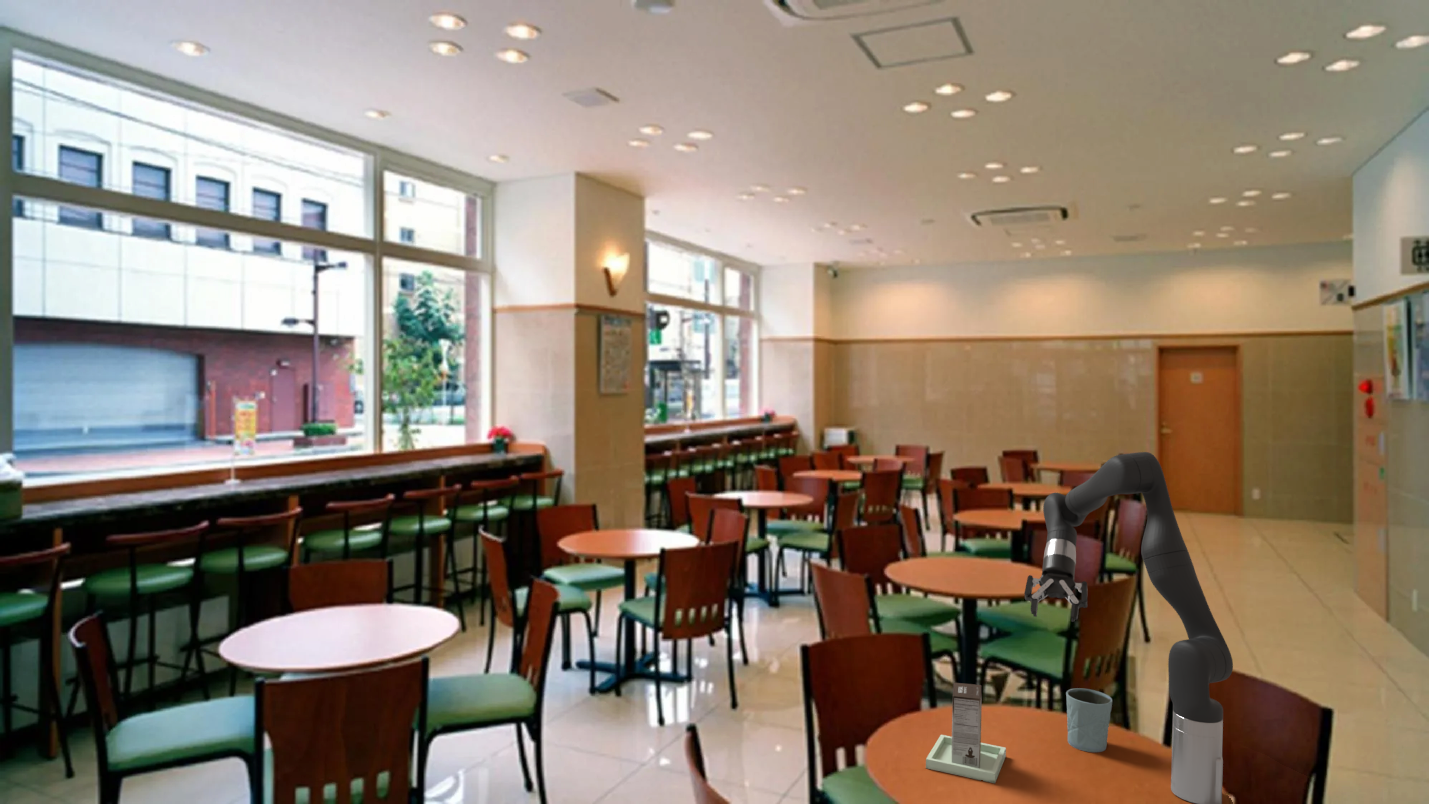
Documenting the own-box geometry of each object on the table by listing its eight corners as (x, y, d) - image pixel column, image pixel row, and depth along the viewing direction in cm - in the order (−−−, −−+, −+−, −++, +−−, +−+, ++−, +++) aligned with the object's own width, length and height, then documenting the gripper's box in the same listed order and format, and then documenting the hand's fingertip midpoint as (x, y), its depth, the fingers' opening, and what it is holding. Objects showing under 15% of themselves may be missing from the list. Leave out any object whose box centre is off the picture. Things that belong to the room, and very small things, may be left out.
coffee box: (951, 748, 199) (953, 681, 199) (980, 752, 197) (981, 684, 197) (951, 765, 190) (952, 695, 190) (980, 769, 189) (982, 698, 188)
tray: (1005, 756, 197) (1005, 747, 197) (994, 783, 183) (995, 773, 183) (940, 742, 204) (940, 734, 204) (925, 767, 190) (925, 758, 190)
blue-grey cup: (1059, 734, 209) (1060, 686, 209) (1102, 736, 208) (1103, 688, 208) (1073, 752, 199) (1074, 702, 199) (1117, 755, 198) (1119, 704, 198)
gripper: (1028, 549, 214) (1021, 605, 204) (1089, 555, 208) (1085, 613, 198) (1030, 566, 219) (1023, 621, 209) (1090, 573, 213) (1086, 629, 203)
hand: (1053, 617), depth 204 cm, fingers open, 8 cm apart
